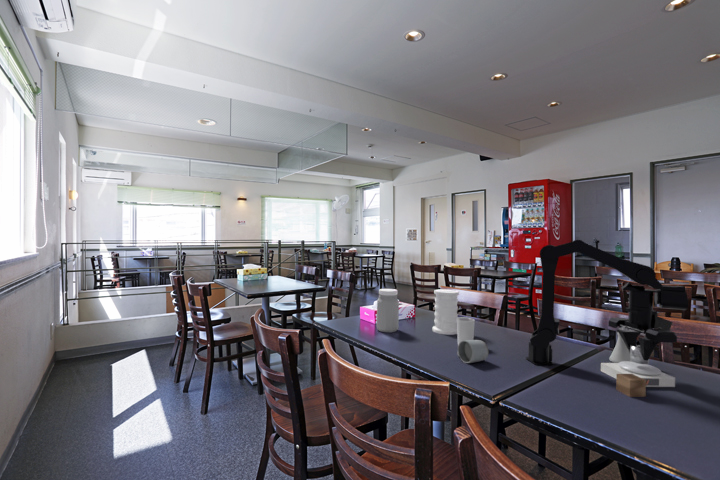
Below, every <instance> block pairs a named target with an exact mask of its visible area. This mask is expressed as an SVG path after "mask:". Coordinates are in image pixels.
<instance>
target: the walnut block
mask: <svg viewBox="0 0 720 480" xmlns="http://www.w3.org/2000/svg"><path fill="white" fill-rule="evenodd" d="M615 380H616V381H615V383H616V385H615V388H616V389H615V390H616V391H617V392H620V393H622V394H623V395H625V396H627V397H629V398H637V397H638V398H640V397H641V398H644V397H646V389H647V387H646V380H644V379H642V378H640V377H638V376H636V375H633V374H617V378H616V379H615Z"/></svg>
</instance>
